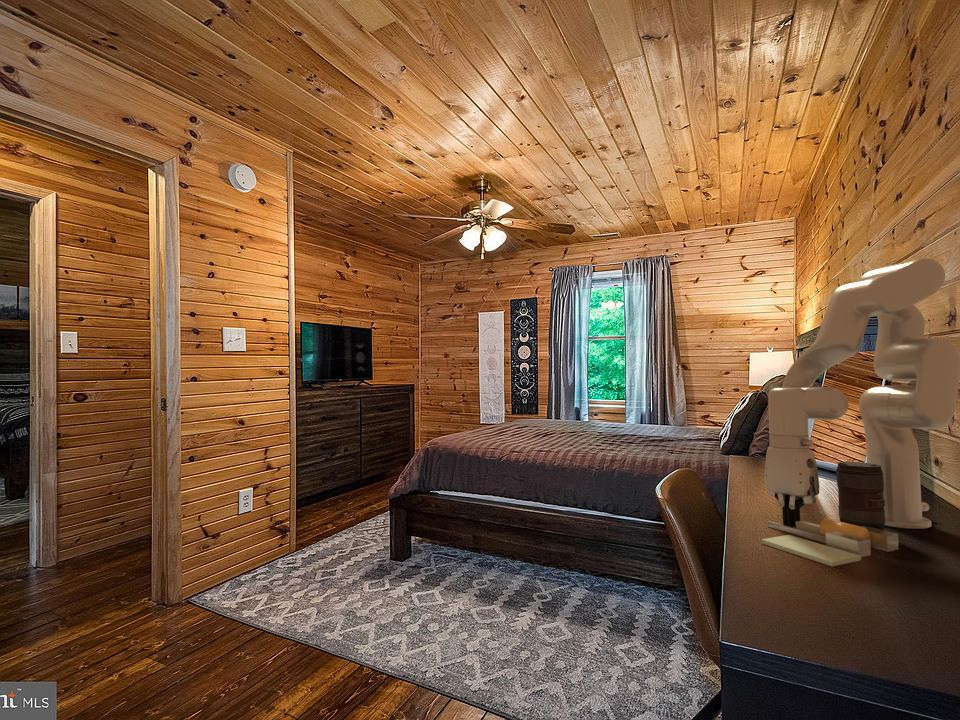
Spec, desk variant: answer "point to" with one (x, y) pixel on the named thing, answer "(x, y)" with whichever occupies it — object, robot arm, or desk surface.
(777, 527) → the housing
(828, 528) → the plug
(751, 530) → the desk surface
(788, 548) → the mat
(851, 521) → the camera lens
